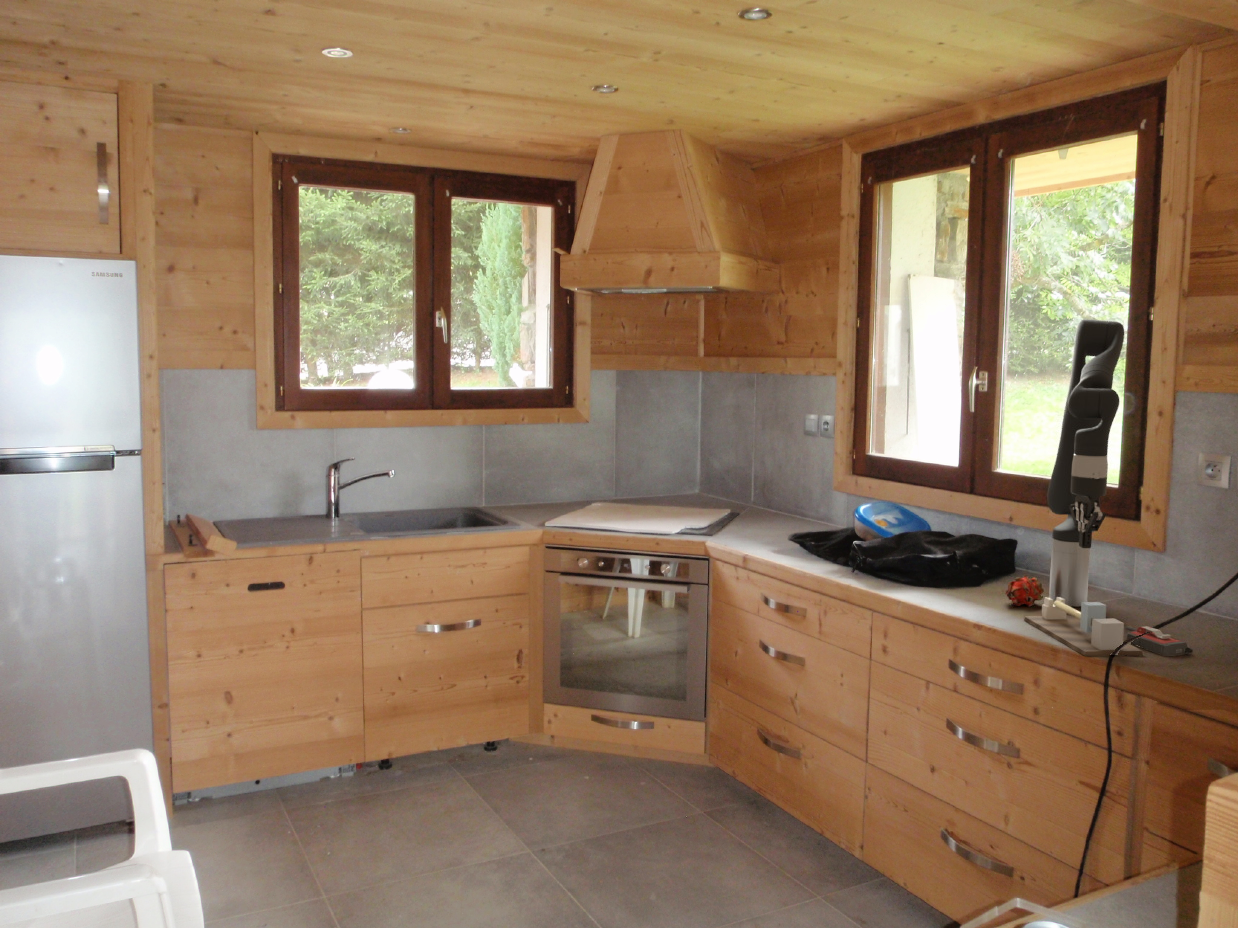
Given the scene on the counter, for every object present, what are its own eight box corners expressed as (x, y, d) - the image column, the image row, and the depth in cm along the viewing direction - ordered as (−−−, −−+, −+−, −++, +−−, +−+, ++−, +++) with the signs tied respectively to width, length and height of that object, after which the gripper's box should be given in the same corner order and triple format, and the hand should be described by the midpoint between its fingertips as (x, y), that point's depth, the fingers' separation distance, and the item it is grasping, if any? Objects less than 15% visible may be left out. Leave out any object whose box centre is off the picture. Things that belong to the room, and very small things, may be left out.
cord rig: (1041, 616, 247) (1042, 593, 247) (1061, 616, 247) (1062, 593, 247) (1100, 649, 219) (1101, 623, 219) (1122, 649, 219) (1124, 623, 219)
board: (1024, 620, 248) (1024, 616, 248) (1075, 619, 249) (1075, 615, 248) (1084, 655, 218) (1084, 651, 218) (1142, 655, 219) (1142, 650, 219)
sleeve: (1080, 629, 229) (1081, 602, 228) (1097, 629, 229) (1099, 602, 228) (1086, 632, 226) (1088, 605, 225) (1104, 632, 226) (1106, 605, 225)
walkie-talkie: (1200, 656, 220) (1129, 632, 239) (1201, 636, 219) (1130, 614, 238) (1169, 659, 217) (1099, 635, 236) (1170, 640, 217) (1100, 617, 235)
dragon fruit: (1042, 608, 266) (1011, 620, 261) (1020, 585, 271) (989, 596, 266) (1057, 587, 260) (1026, 599, 255) (1034, 564, 266) (1003, 575, 260)
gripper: (1060, 470, 237) (1056, 542, 239) (1087, 478, 224) (1082, 553, 226) (1091, 470, 237) (1086, 542, 239) (1120, 478, 224) (1115, 553, 226)
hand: (1084, 547), depth 232 cm, fingers closed
